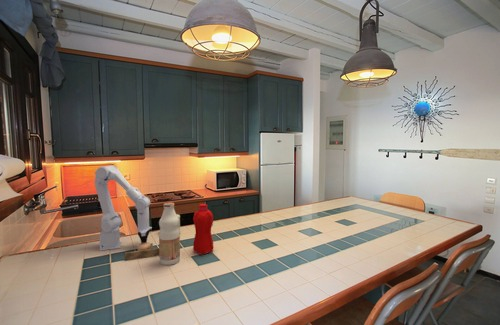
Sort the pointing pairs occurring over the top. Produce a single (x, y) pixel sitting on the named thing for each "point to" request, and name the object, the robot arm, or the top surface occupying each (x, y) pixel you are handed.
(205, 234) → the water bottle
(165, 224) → the fruit juice
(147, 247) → the tan rounded pebble
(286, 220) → the top surface
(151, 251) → the mortise joint
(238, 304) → the top surface
